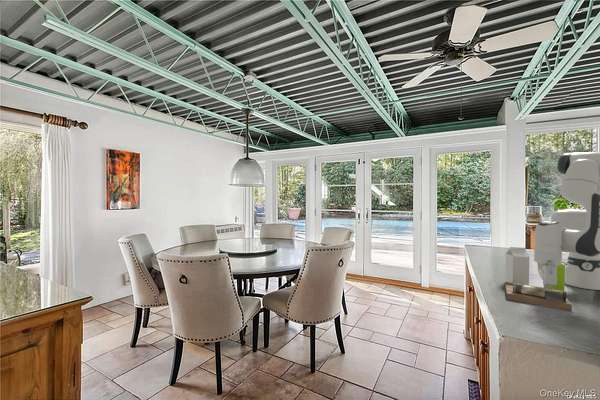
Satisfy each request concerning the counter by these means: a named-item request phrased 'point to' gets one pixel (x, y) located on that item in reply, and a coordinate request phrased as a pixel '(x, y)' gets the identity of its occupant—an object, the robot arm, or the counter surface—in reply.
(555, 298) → the wooden tray
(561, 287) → the soap dispenser
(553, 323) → the counter surface
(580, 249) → the robot arm
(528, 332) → the counter surface
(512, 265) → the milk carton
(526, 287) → the folding leg
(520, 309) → the counter surface
